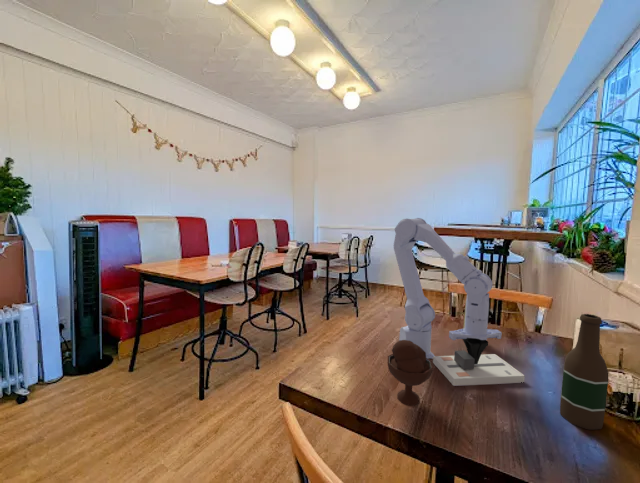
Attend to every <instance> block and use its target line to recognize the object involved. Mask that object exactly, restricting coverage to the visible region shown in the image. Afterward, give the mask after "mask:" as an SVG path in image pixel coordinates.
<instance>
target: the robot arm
mask: <svg viewBox="0 0 640 483" xmlns="http://www.w3.org/2000/svg"><path fill="white" fill-rule="evenodd" d="M394 232H395V234H394V235H395V236H394V241H393V251H394V255H395V257H396V262H397V265H398V270H399V273H400V274H399V275H400V277H401V281H402V285H403V288H404V293H405V296H406V302H405V305H404V310H405V315H404V321H405V324H406V326H402V327H400V329H399V336H398V338H399V340H398V341H400V340H409V341H411V342H413V343H414V344H416V345H418V346H419V347H421V348H422V349H423V350H424V351H425V352H426V358H427V359H429V360H430V359H432V360H433V356H435V354H434V353H433V352H432V351H431V350H432V348H431V346H432V328H433V327H432V322H433V321H434V320H435V318H436V312H435V309H434V308H433V307H432V304H431V303H430V300H429V298H427V297H426V296H425V295H424V294H425V293H424V291H423V286H422V284H421V283H422V282H421V279H420V276H419V272H418V269H417V265H416V262H415V261H416V260H415V258H414V255H413V249H412V248H413V247H414V246H415V244H416V243H417V242H418V241H419V242H422V243H423V242H424V243H426V244H427V245H429V246H430V247H431V248H432V249H433V250H434V251H435V252H436V253H437V254H438V255H439V256H440V257H441V258H442V259H443V260H445V267H446V268H447V269H448V270H449V272H450V273H452V275H454V277H455V278H456V279H458V281H459V282H460V283H461V284H463V289H464V291H465V293H466V299H465V302H466V311H465V310H464V315H465V326H464V328H459V329H457V330H449V332H448V339H450V340H452V341H457V340H462V341H463V343H464V345H465V348H466V352H467V353H468V354H469V355H471V356H472V357H473V358H474V359H475V362H474V364H478V361H479V358H480V356H481V355H483V352H484V351H485V349H487V347H488V346H489V341H488V339H497V340H499V339H500V340H501V339H502V334H503V333H502V331H500V330H499V329H492V328H491V329H490V328H488V323H489V310H490V293H489V292H490V291H492V288H493V281H492V279H491V278H490V276H489V275H488V274H486V273H484V272H483V271H482V270H481V269H478V268H477V267H476V266H475V265H474V264H473V263H472V262H470V261H469V260H470V257H469V256H467V255H464V254H462V253H456V252H455V251H453V249H452V248H451V247H450V246H449V245H448V244H447V243H446V242H445V240H444V239H442V237H441V236H440V235H439V234H438V233H437V232H436V231H435V229H434V228H433V227H432V225H431V224H429V223H428V222H427V221H426V220H425V219H423V218H421V217H416V218H403V219H401V220H400V221H399V222H398V224H397V225H396V226H395V227H394Z"/></svg>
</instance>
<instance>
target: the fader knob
mask: <svg viewBox="0 0 640 483" xmlns="http://www.w3.org/2000/svg"><path fill="white" fill-rule="evenodd" d="M453 356H454V361H455V362H456V363H457V364H458V365H460V366H461V367H462V368H463V369H464V370H465V369H474V362H475V359H474V358H473V357H472V356H471V355H469V354H468V351H467V350H465V349H464V350H454V355H453Z"/></svg>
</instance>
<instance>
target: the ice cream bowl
mask: <svg viewBox="0 0 640 483" xmlns="http://www.w3.org/2000/svg"><path fill="white" fill-rule="evenodd" d="M391 351H392V353H391V354H389V355H387V362H386V363H387V368H388V370H389V373H390V374H391V375H392V376H393V377H394V378H395V380H396V381H398V382H400V383H401V384H403V385H405V386H404V389H401V390H399V391H398V392H397V393H396V397H397V399H398V401H399V402H400V403H402V404H405V405H408V406H415V405H417V404H419V403H420V397H419V396H420V395H419V394H417V392H416V391H413V386H416V387H417V386H420V385H421V384H423V383H425V382H426V381H427V380H429V379H430V377H431V376H432V375H433V372H434V363H433V360H430V359H427V358H426V352H425V351H424V350H423V349H422V348H421V347H419V346H418V345H416V344H414V343H413V342H411V341H409V340H400V341H399V340H398V341H396V342H395V343H394V345H393V346H392V348H391Z"/></svg>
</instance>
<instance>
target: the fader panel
mask: <svg viewBox="0 0 640 483" xmlns="http://www.w3.org/2000/svg"><path fill="white" fill-rule="evenodd" d="M432 364H433V365H434V366H435V367H436V368H437V369H438V370H439V371H440V373H442V375H444V377H445V378H446V380H448V381H449V383H451V385H452V386H453V387H455V386H456V387H457V386H458V387H459V386H480V385H498V384H499V385H500V384H501V385H503V384H504V385H505V384H524V383H525V378H526V377H525V374H523V373H522V372H521V371H519V370H518V369H516V368H515V367H513V366H512V365H511V364H510V363H508V362H507V361H505V360H504V359H503V358H501V357H500V356H498V355H497V354H495V353H490V354H489V353H488V354H481V356H480V358H479V361H478V364H474V369H465V370H464V369H463V368H462V367H461V366H460V365H458V364H457V363H456V362H455V361H454V355H437V356H435V355H434V356H433V358H432ZM521 382H522V383H521ZM523 382H524V383H523Z"/></svg>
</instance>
